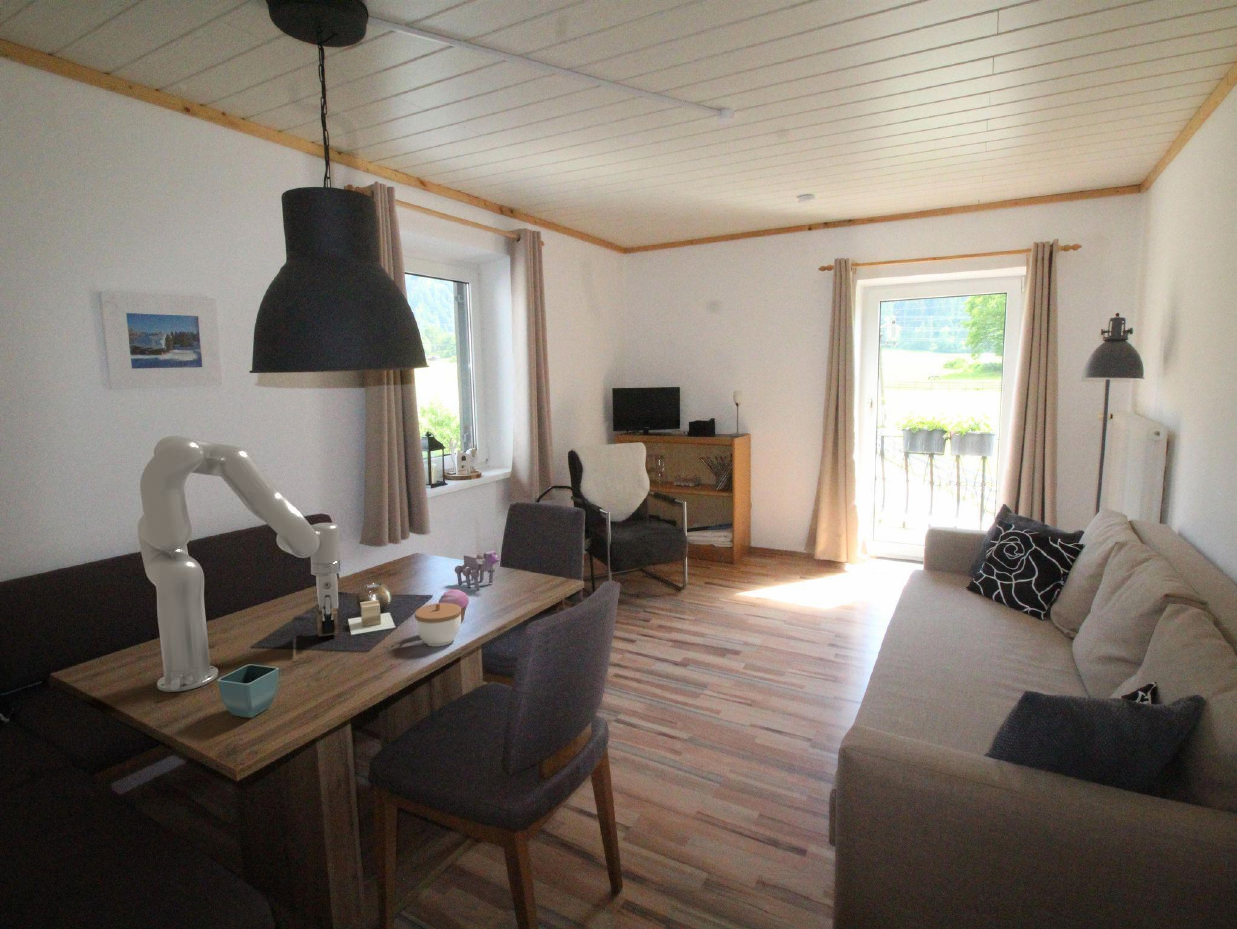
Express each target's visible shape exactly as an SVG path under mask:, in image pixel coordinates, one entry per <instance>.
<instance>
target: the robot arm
mask: <svg viewBox="0 0 1237 929" xmlns="http://www.w3.org/2000/svg"><path fill="white" fill-rule="evenodd" d="M190 474H199V475H206V476H214V477H220V478H221V479H222V480H223V481H224V483H226V484H227V486H228V487H229V488H230V489H231V491H232V492H233V493H234V495H236V497H237V498H238V499H239V500H240V502H242V504H243V505H244V506H245V507H246V509H247V510H249V511H250V512H251V513H252V514H253V515H254V516H255V517H257V518H258V519H259V520H261V521H263V522H264V523H265V524H267V526H269V527H270V528H271V529H272V531H274V532H275V533H277V534H276V544H277V546H278V547H279V548H280V549H281V550H282V551H284V552H285V553H288V554H290V555H293V556H295V557H297V558H300V559H302V558H303V559H305V558H310V574H311V575H313V576H316V577H315V582H316V595H317V602H318V607H319V608H318V609H319V610H321V611H322V618H323V620H322V634H323V635H325V634H332V633H334V632H335V628H334V619H333V608H336V609H337V610H338V609H339V588H338V587H339V586H338V575H337V574H339V573H340V572H342V570H341V568H342V567H341V549H340V547H341V542H340V539H341V538H340V527H339V525H338V524H337V523H335V522H319V523H315V524H310V523H309V521H308V520H307V519H306V518H305V517H304V516H303V514H302V513H301V512H300V511H299V510H298V509H297V508H296V507H295V505H293V503H292V502H290V500H289V499H288V498H287V496H285V494H283V493H282V492H281V491H280V489H279V488H278V487H277V486H276V485H275V484H274V482H273V481H272V480H271V479H270V477H269V476H268V474H266V472H265V471H264V469H262V467H261V466H260V465H259V463H258V462H257V461H256V460H255V458H254V457H253V455H251V453H250V452H248V451H247V450H246V448H245V449H244V448H242V447H239V446H235V445H230V444H229V445H228V444H221V443H215V442H210V441H204V440H198V439H194V438H190V437H186V436H179V435H169V436H165V437H164V438H161V439H160V440H159V441H157V443H156V444H155V446H154V449H153V456H152V457H151V459H150V460H149V461H148V463H147V464H146V466H145V467H144V469H143V471H142V474H141V476H140V477H141V478H140V482H139V483H140V484H139V489H140V490H139V491H140V497H141V498H140V499H141V505H142V511H143V512H142V513H143V515H141V517H140V518H139V521H138V524H137V537H138V543H139V548H140V552H141V557H142V563H143V567H144V571H145V575H146V577H147V578H148V580H149V581H150V582H151V583H152V584H153V585H154V586H155V589H156V613H157V623H158V624H157V625H158V630H159V631H158V632H159V638H160V639H159V640H160V650H161V660H162V667H163V668H162V669H163V676H162V677H159V679H158V680H157V682H156V687H157V689H158V690H159V691H162V692H165V693H166V692H167V693H173V692H175V693H176V692H177V693H178V692H182V691H188V690H189V691H190V690H193V689H196V688H199V687H203V686H205V685H207V684H209V683H211V682H213V681H214V680H215V679H216V678H217V677H218V676H219V669H218V668H217V667H215V666H213V665H211V660H210V649H209V640H208V629H207V618H206V609H205V608H206V607H205V574H204V571H203V568H202V566H201V564H200V563H199V562H198V561H197V560H196V559H195V558H193V557H192V556H190V555H189V551H188V545H187V544H188V543H189V542H190V541H191V538H192V534H193V533H192V532H193V530H192V524H191V520H190V517H189V511H188V507H187V501H186V494H185V484H186V480H187V478H188V477H189V476H190ZM324 611H326V613H324Z"/></svg>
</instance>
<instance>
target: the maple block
mask: <svg viewBox="0 0 1237 929" xmlns="http://www.w3.org/2000/svg"><path fill="white" fill-rule="evenodd" d="M359 604H360V615H361V616H360V617H361V620H362V625H363V627H368V626H374V625H380V624H381V615H380V614H381V605H380V601H379V599H375V600H368V601H367V600H366V601H361V602H359Z"/></svg>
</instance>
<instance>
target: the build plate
mask: <svg viewBox="0 0 1237 929" xmlns="http://www.w3.org/2000/svg"><path fill="white" fill-rule="evenodd" d="M380 615H381V624H380V625H374V626H368V627H363V625H362V620H361V616H358V617H352V618H348V619H347V620H348V621H347V622H348V626H349V631H350V635H351V636H353V635H358V634H365V633H370V632H371V633H372V632H377V631H381V630H388V629H393V628H396V626H395V623H394V621H393V617H392V615H391V612H384V613H380Z"/></svg>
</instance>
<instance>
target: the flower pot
mask: <svg viewBox="0 0 1237 929" xmlns="http://www.w3.org/2000/svg"><path fill="white" fill-rule="evenodd" d="M279 671H280V668H279V667H275V666H267V665H259V664H252V663H251V664H245V665H244V666H242V667H239V668H238V669H235V670H233V671H231V672H230V673H227V674H226V675H223V676H221V677H220V678H217V680H216V682H217V688H218V691H219V695H220V698H221V701H222V703H223V705H224V707H225V708H226V709H227V710H228V711H229V712H230V713H231V715H233V716H236V717H242V718H247V719H249V718H250V719H252V718H254V717H256V716H257V715H259V714H261V713H263V712H264V711H266V710H267V709H269V708H270V707H271V705H272V704H273V702H274V700H275V697H276V695H277V691H278V685H279V675H280V674H279Z"/></svg>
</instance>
